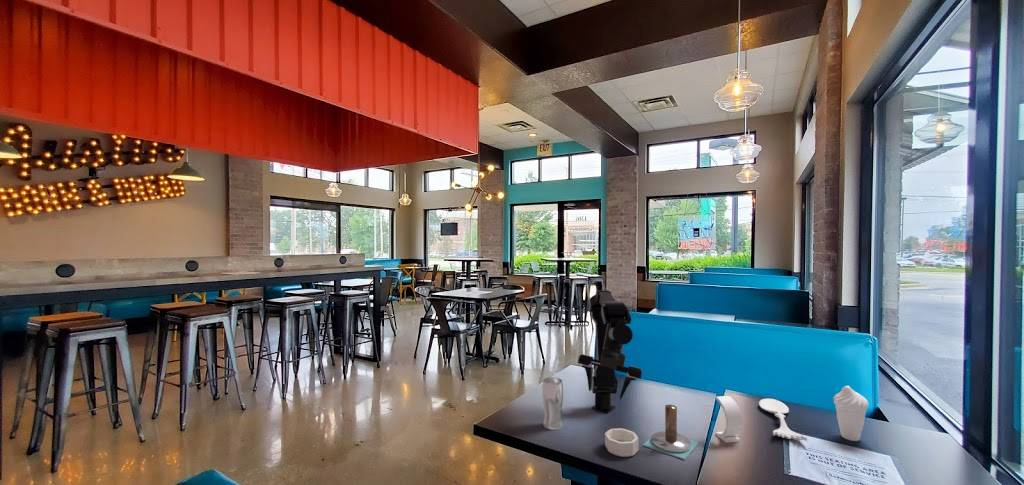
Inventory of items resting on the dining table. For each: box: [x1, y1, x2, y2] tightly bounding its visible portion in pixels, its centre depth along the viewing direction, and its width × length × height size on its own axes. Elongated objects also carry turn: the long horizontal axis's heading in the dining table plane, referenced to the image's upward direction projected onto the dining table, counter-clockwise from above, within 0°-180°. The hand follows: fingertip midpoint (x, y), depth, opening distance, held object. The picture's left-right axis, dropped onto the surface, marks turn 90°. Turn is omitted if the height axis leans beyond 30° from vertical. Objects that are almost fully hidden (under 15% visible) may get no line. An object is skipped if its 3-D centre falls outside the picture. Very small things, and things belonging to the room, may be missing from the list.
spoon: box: [758, 398, 808, 442], centre depth 136 cm, size 9×32×4 cm, turn 156°
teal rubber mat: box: [643, 429, 699, 461], centre depth 122 cm, size 12×12×1 cm
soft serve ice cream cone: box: [832, 385, 869, 442], centre depth 125 cm, size 8×8×16 cm
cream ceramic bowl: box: [604, 427, 640, 458], centre depth 119 cm, size 9×9×4 cm
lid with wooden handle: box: [651, 404, 691, 453], centre depth 122 cm, size 11×11×11 cm
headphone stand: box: [715, 395, 743, 443], centre depth 125 cm, size 5×6×12 cm
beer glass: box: [541, 376, 564, 431], centre depth 134 cm, size 7×7×15 cm
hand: (604, 395), depth 123 cm, fingers open, 9 cm apart
